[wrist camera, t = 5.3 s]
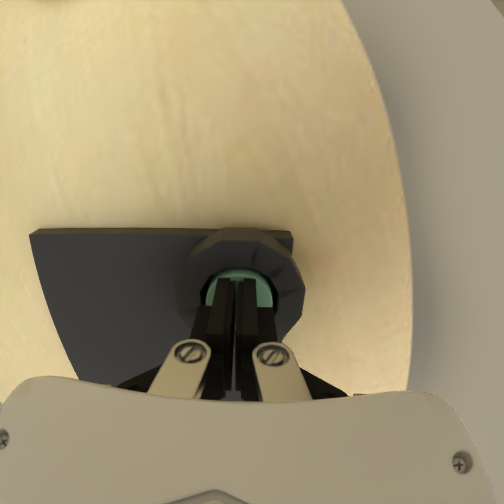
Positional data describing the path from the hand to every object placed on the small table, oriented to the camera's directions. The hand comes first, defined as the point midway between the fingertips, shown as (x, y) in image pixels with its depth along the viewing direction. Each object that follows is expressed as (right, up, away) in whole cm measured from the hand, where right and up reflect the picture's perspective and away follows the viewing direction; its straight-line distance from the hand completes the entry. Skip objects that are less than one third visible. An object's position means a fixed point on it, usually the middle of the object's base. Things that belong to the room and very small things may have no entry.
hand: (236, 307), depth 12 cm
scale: (-6, -3, +5) cm, 8 cm away
